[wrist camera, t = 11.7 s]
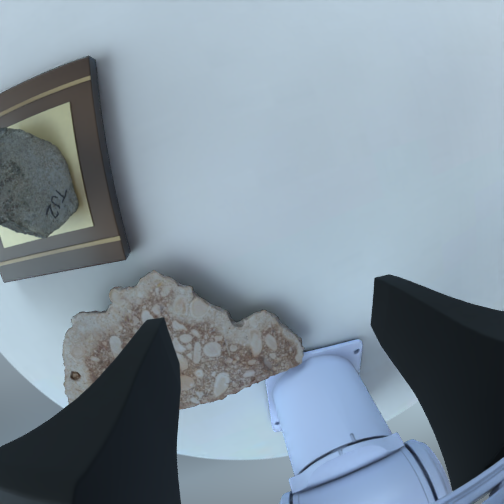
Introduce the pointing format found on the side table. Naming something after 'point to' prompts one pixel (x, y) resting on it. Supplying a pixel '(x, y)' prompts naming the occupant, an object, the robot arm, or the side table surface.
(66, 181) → the rock
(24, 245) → the plaque
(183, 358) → the rock
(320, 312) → the side table surface
